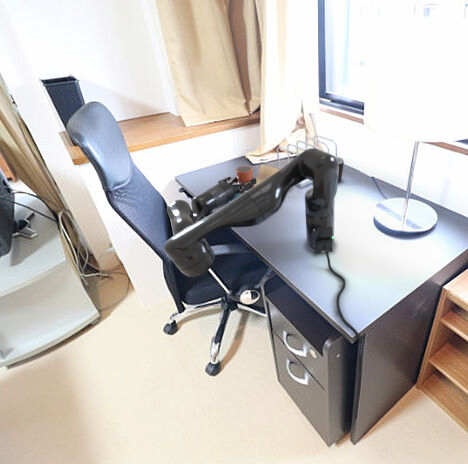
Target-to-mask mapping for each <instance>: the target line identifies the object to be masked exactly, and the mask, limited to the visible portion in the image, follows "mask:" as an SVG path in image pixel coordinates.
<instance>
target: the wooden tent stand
mask: <svg viewBox="0 0 468 464" xmlns="http://www.w3.org/2000/svg"><path fill="white" fill-rule="evenodd" d="M279 170H281V168H280V169H279V168H276V167H271V166H268V165H264V164H261V165H260V167H259V170H258V172H257V174H256V177H255V178H256V181H257V183H256V184H254V186H256V185H257V184H259V183H261V182H262V181H264V180H265V179H267V178H268V177H270V176H271V175H273V174H274V173H276V172H278V171H279Z"/></svg>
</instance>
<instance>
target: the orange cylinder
mask: <svg viewBox="0 0 468 464" xmlns="http://www.w3.org/2000/svg"><path fill="white" fill-rule="evenodd" d="M235 175H236V176H235V177H237V182H238V183H239V182H249V181H250V180H252V179H253V178H254V172H253V167H251V166H249V165H241V166H238V167H236V168H235ZM247 185H248V184H247ZM247 185H245V187H246V186H247ZM241 187H242V189H243V186H242V185H241ZM253 187H254V185H253ZM240 194H241V195H242V194H243V193H240Z"/></svg>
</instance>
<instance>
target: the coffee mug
mask: <svg viewBox="0 0 468 464" xmlns="http://www.w3.org/2000/svg"><path fill="white" fill-rule="evenodd" d="M335 157H336V156H335ZM336 159H337V161H338V165H339V175H338V184H340V183H341V182H342V178H343V171H344V164H345V159H344V158H343V157H340V156H337V157H336Z"/></svg>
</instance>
